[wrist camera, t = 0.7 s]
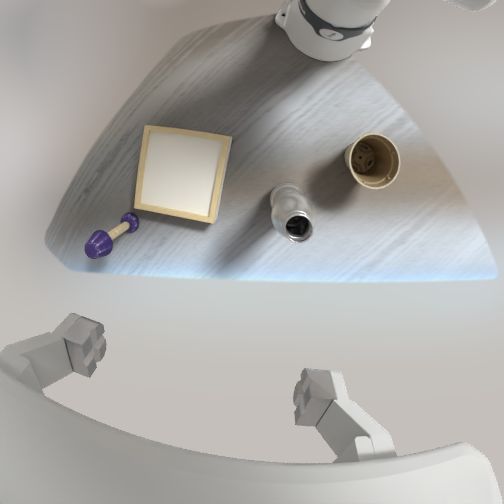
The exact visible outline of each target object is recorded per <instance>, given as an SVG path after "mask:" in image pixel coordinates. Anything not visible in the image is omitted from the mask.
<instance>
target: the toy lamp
mask: <svg viewBox="0 0 504 504" xmlns="http://www.w3.org/2000/svg"><path fill="white" fill-rule="evenodd" d="M138 226H139V221H138V218H137V217H136V215H134V214H133V213H126V214H125V215H123V217H122V219H121V224H120V225H119V226H117V227H115V228H113V229H112V230H111V231H109V232H108V233H106V232H105V231H102V230H98V231H95V232H94V233H93V234H92V235H91V237H90V238H89V240H88V241H87V243H86V245H85V253H86V255H87V256H88V257H89V258H92V259H96V258H100V257H103V256H106V255H108V254H109V253H110V252H111V251H112V248H113V242H112V240H113V239H115V238H116V237H118V236H119V235H121V234H122V233H123V232H125V231H126V232H134V231H136V230H137V228H138Z"/></svg>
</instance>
